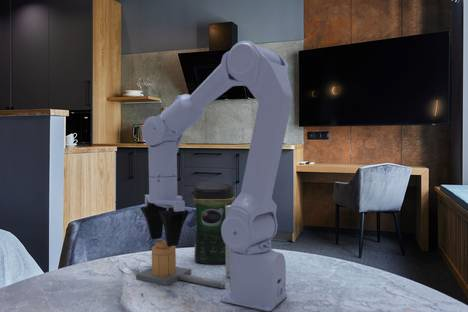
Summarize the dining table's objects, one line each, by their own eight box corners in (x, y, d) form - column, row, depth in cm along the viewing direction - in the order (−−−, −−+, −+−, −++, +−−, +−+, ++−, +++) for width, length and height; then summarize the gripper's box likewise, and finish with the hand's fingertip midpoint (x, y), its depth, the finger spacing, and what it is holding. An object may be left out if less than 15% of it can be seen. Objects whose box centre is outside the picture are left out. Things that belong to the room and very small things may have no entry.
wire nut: (180, 270, 82) (180, 241, 82) (163, 277, 79) (163, 246, 78) (164, 266, 85) (163, 238, 85) (147, 272, 81) (146, 242, 81)
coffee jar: (237, 255, 97) (236, 180, 96) (232, 265, 89) (232, 183, 89) (198, 254, 98) (197, 180, 98) (190, 264, 90) (190, 183, 90)
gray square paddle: (235, 282, 78) (235, 259, 78) (213, 295, 71) (213, 271, 71) (161, 268, 87) (161, 248, 87) (136, 279, 80) (135, 257, 80)
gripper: (197, 177, 78) (198, 245, 78) (165, 173, 90) (166, 233, 90) (165, 179, 74) (166, 251, 74) (135, 175, 85) (136, 237, 86)
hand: (164, 242), depth 82 cm, fingers open, 7 cm apart
